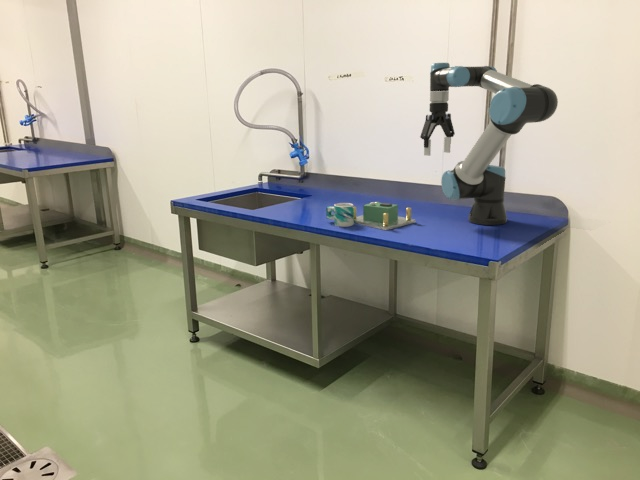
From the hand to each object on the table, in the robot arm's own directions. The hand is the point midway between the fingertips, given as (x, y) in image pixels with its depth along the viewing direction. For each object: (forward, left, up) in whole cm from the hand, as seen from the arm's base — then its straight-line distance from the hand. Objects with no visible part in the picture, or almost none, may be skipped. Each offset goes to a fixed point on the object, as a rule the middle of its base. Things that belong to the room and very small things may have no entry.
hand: (437, 154), depth 226 cm
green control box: (+9, +25, -26) cm, 37 cm away
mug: (+20, +39, -27) cm, 51 cm away
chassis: (+9, +25, -27) cm, 38 cm away
